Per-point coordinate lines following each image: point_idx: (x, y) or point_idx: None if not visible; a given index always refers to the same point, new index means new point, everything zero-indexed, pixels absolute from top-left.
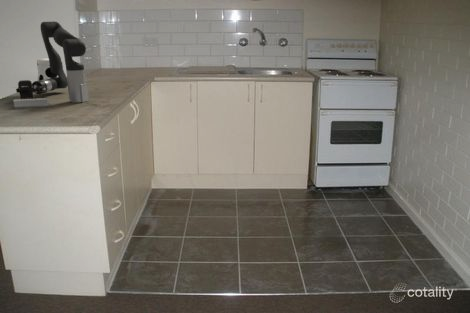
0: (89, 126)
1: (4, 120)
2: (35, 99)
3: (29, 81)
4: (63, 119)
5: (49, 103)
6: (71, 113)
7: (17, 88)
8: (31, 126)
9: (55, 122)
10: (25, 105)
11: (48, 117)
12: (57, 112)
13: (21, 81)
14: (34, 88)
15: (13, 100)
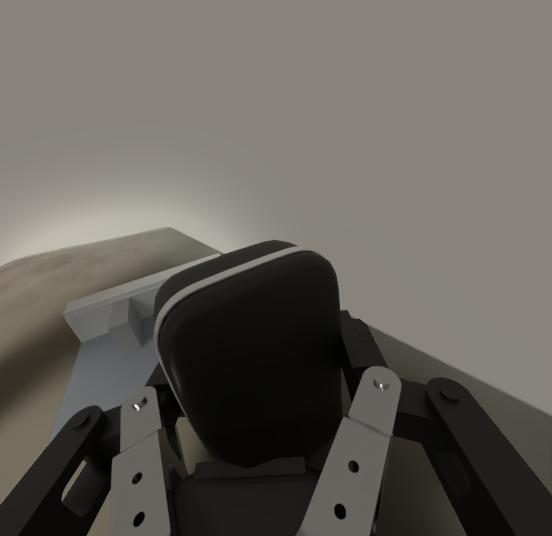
0: (27, 256)
1: (187, 235)
2: (128, 283)
3: (163, 284)
4: (63, 263)
5: (67, 397)
6: (21, 294)
7: (345, 316)
8: (128, 236)
9: (84, 252)
10: None
11: (96, 262)
12: (63, 290)
13: (255, 244)
14: (146, 391)
15: (218, 254)
